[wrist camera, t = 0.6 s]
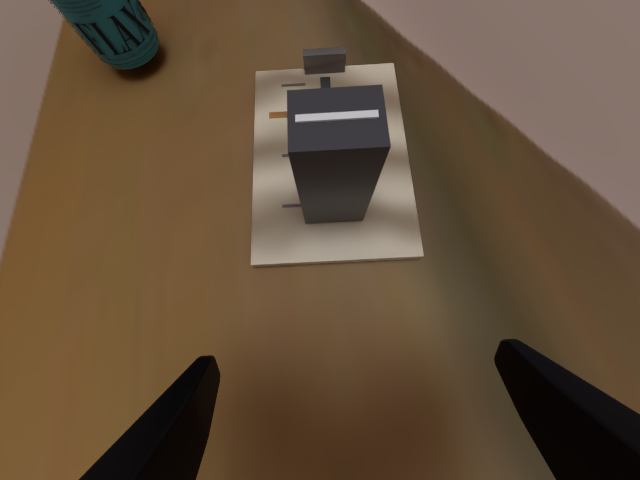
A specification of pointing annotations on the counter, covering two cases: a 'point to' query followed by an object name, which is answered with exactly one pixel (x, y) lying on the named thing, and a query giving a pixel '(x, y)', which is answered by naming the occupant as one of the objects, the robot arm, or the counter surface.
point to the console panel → (280, 189)
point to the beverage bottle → (113, 29)
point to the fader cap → (337, 149)
